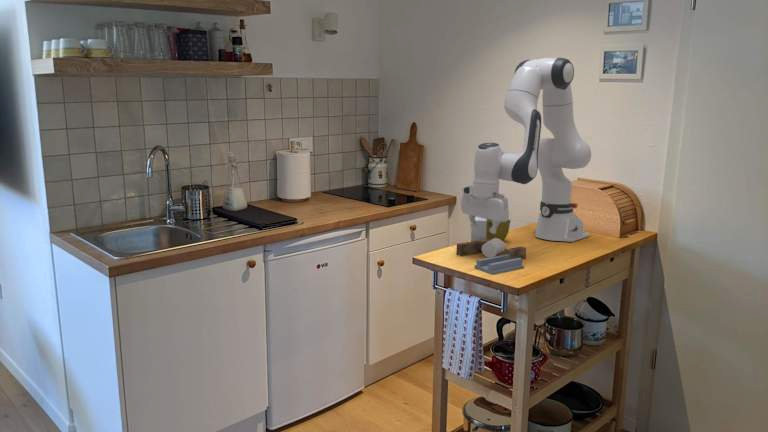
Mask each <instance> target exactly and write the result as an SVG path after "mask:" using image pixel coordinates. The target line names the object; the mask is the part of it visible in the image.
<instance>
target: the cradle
mask: <svg viewBox="0 0 768 432" xmlns="http://www.w3.org/2000/svg"><path fill="white" fill-rule="evenodd" d="M524 268H525V266H524V264H523V260H522V259H521V258H516V259H511V260H510V255H508V254H505V255H504V254H502V255H501V254H500V255H496V256H494V257H486V258H480V259H476V264H475V265H474V269H476V270H478V271H481V272H484V273H487V274H490V275H492V276H494V275H499V274H502V273H507V272H513V271H516V270H521V269H524Z"/></svg>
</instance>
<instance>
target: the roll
mask: <svg viewBox="0 0 768 432" xmlns="http://www.w3.org/2000/svg"><path fill="white" fill-rule="evenodd" d="M505 249H507V245H506V243H505V242H504V241H501V240H500V239H498V238H494V239H492V240H490V241H488V242H487V243H485V244H484V245H483V246H482V248H481V250H482V254H483V255H484V256H485V257H486V258H489V257H495V256H498V255H499V254H500V253H503V251H505Z"/></svg>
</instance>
